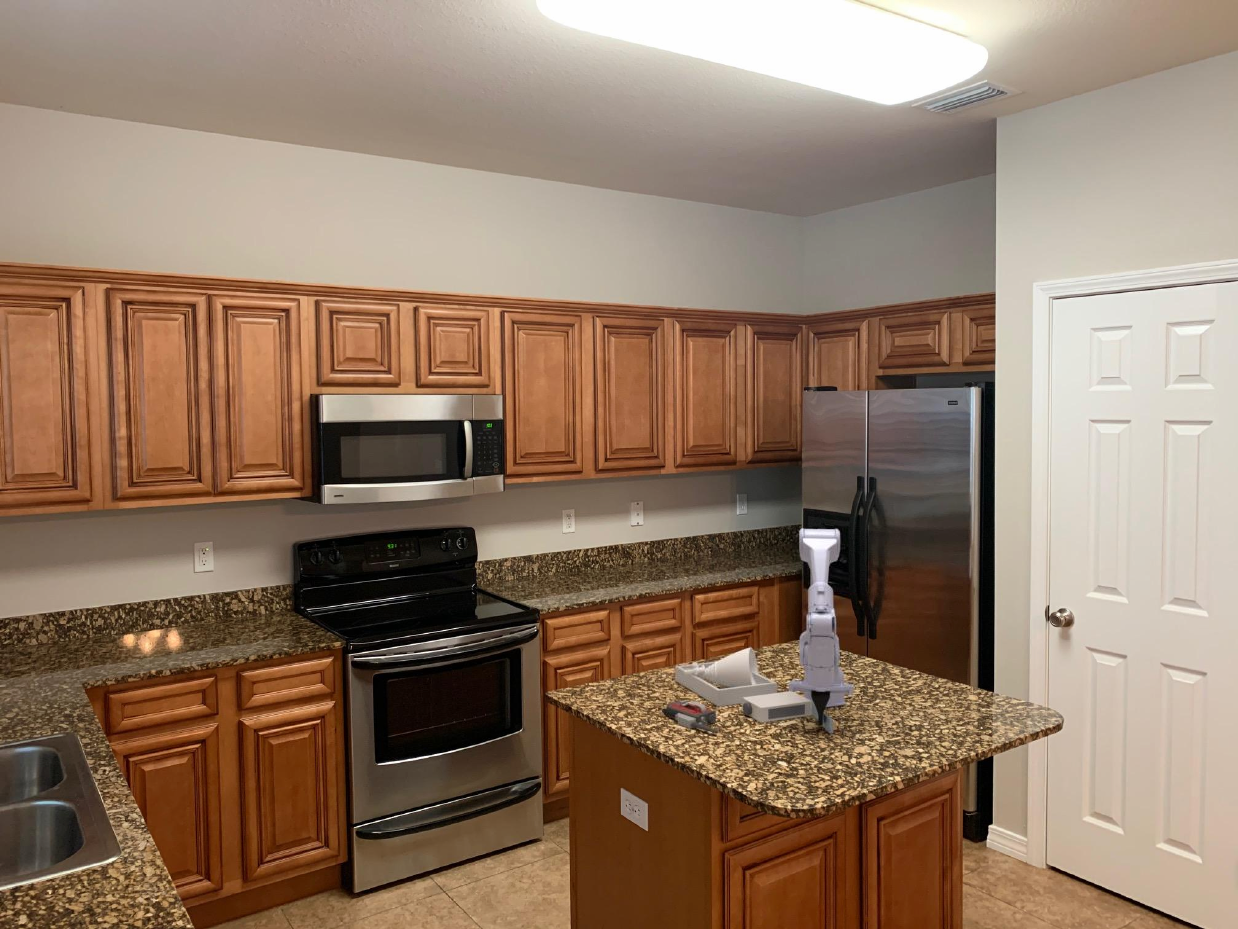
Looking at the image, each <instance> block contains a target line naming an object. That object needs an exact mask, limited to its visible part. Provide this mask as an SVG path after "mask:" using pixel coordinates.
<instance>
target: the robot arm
mask: <svg viewBox="0 0 1238 929" xmlns="http://www.w3.org/2000/svg"><path fill="white" fill-rule="evenodd" d="M798 540H799V541H798V542H799V545H798V546H799V547H798V548H799V550H798V551H799V557H800V560H801V561H803V562H806V563H807V564H808V567H809V569H810V570H809V571H810V586H809V588H807V589H808V590H807V597H808V598H807V603H808V605H807V608H808V612H807V614H806V630H805V631H804V632H802V633H801V634H800V636H799V644H798V645H799V646H798V649H799V651H798V652H799V654H798V655H799V658H798V659H799V660H798V661H799V663H798V664H799V665H800V666H801V667H803V670H804V672H803V673H804V674H803V675H804V679H803V680H789V681H788V691H793V692H803V693H804V694H803V697H805V698H807V699H809V700H811V701H812V703H813V702H814V704H815V707H816V709H817V712H818V720H817V726H818V725H819V726H822V725H823V713H824V711H825V710H826V708H831V707H837V706H838V707H839V706H843V705H847V702H846V701H845V695H849V696H854V695H855V694H854V693H855V692H854V690H855V689H854V685H855V684H849V683H845V677H844V672H843V670H842V669H841V667H839V666H840V641H839V640H840V639H839V637H838V635H837V618H836V612H835V608H834V590H833V587H831V586H830V585H829V584H828V582H829V572H830V571H829V570H830V568H829V567H830V565H831V563H833V562H837V561H838V558H839V557H840V552H841V532H840V530H839V529H838V528H834V529H827V528H826V529H825V528H817V529H816V528H815V529H814V528H803V527H802V528H800V530H799V539H798Z"/></svg>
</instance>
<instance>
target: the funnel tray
mask: <svg viewBox="0 0 1238 929" xmlns="http://www.w3.org/2000/svg"><path fill="white" fill-rule="evenodd" d="M715 662H716V661H712V662H711V661H709V662H702V663H701V662H700V663H697V664H698V666H699V668H700V667H701V666H702V665H704V667H705V669H706V668H708V667H709V666H711V665H712V664H714V663H715ZM692 665H693V663H692V664H691V663H690V664H683V665H676V666H675V667H674V668H675V672H674V674H675V676H674V678H675V679H674V680H675V682H677V683H678V684H680V685H681V686H683V687H685V688H686V689H688V690H690V691H691V692H694V693H695V694H697V695H698V696H700V697H702V698H703V699H705V700H706V701H708V702H709V703H711V704H713V705H714V706H717V707H724V706H731V705H733V706H734V705H739V704H740V705H742V698H743V697H750V696H758V695H765V694H773V693H778V683H777V682H776V681H774V680H772V679H770V678H768V677H767V676H764V675H762V674H760V673H759V672H758V673H752V674H753V678H754V680H755V682H756V685H748V686H740V687H732V688H729V687H725V688H718V687H716V686H715V685H714V684H712V683H711V682H710V683H709V682H708V681H707V680H706V681H704V680H703V679H701V678H699V677H697V676H696V675H694V674H691V673H690V675H689V674H685V673H684V670H685V669H686V668H687V669H686V670H688V669H690V670H691V669H694V668H693V666H692Z"/></svg>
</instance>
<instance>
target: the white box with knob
mask: <svg viewBox="0 0 1238 929" xmlns="http://www.w3.org/2000/svg"><path fill="white" fill-rule="evenodd" d="M741 711H742V713H743V714H744V716H749V717H751V719H753V720H756V721H757V722H759V723H763V724H764V723H768V722H776V721H782V720H790V719H795V718H796V719H797V718H803V717H810V716H813V715H812V701H811V700H809V699H807V698H805V697H804V695H803V696H802V695H801V694H799V693H796V691H789V690H788V691H783V692H777V693H773V694H765V695H758V696H750V697H743V698H742V703H741Z"/></svg>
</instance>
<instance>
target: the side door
mask: <svg viewBox="0 0 1238 929" xmlns="http://www.w3.org/2000/svg"><path fill="white" fill-rule="evenodd" d="M811 716H813V717H814V719H815V720H816V721H818V712H817V709H816V707H815V704H814V702H813V703H812V715H811ZM837 724H838V723H837V722H836V721H834V719H833V718H832V717H831V716H830V715H829V714H828V713H827V711H825V710H824V713H823V725H821V726H822V727H823V728H824V729H825V730H826V731H827V732H828V733H829V734H834V731H837V730H838V725H837Z"/></svg>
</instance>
